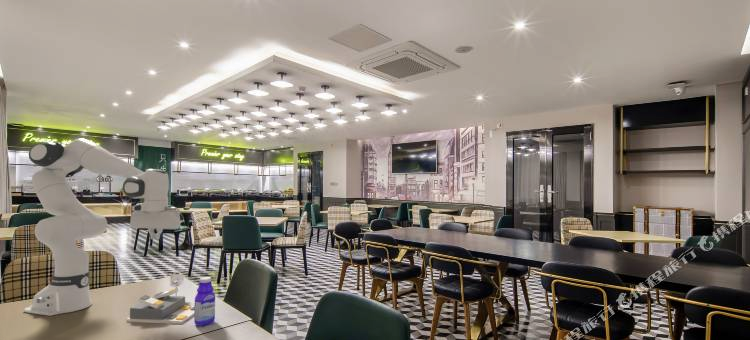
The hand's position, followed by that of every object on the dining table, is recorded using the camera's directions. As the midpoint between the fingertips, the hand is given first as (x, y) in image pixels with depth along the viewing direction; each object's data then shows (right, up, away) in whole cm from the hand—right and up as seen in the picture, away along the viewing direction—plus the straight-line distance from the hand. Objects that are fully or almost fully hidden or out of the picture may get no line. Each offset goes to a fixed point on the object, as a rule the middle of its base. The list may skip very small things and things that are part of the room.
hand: (155, 238), depth 154 cm
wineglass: (+4, -30, +9) cm, 31 cm away
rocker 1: (+6, -23, -13) cm, 27 cm away
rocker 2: (+7, -23, -3) cm, 24 cm away
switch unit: (+10, -29, -8) cm, 32 cm away
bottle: (+29, -30, -16) cm, 44 cm away
